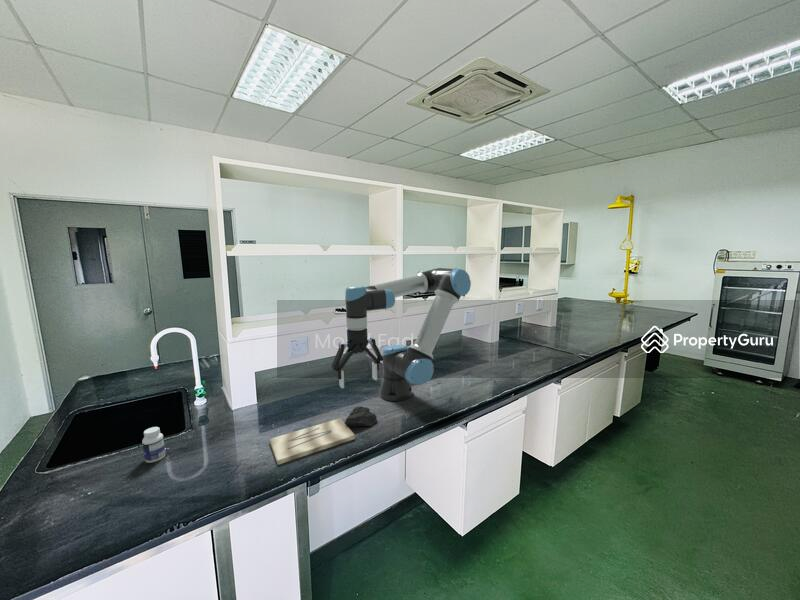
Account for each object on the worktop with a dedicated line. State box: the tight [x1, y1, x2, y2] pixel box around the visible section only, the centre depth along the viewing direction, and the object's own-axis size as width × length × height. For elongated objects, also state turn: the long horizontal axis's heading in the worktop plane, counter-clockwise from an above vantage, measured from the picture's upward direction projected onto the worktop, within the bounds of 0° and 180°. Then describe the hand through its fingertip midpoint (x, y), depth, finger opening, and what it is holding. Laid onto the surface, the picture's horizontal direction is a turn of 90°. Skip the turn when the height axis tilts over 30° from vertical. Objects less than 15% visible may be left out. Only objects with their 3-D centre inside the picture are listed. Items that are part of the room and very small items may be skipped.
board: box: [268, 418, 356, 466], centre depth 111 cm, size 26×14×2 cm, turn 122°
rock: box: [344, 405, 378, 428], centre depth 122 cm, size 10×6×10 cm
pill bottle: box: [141, 426, 166, 464], centre depth 102 cm, size 5×5×10 cm
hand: (358, 383), depth 120 cm, fingers open, 13 cm apart
